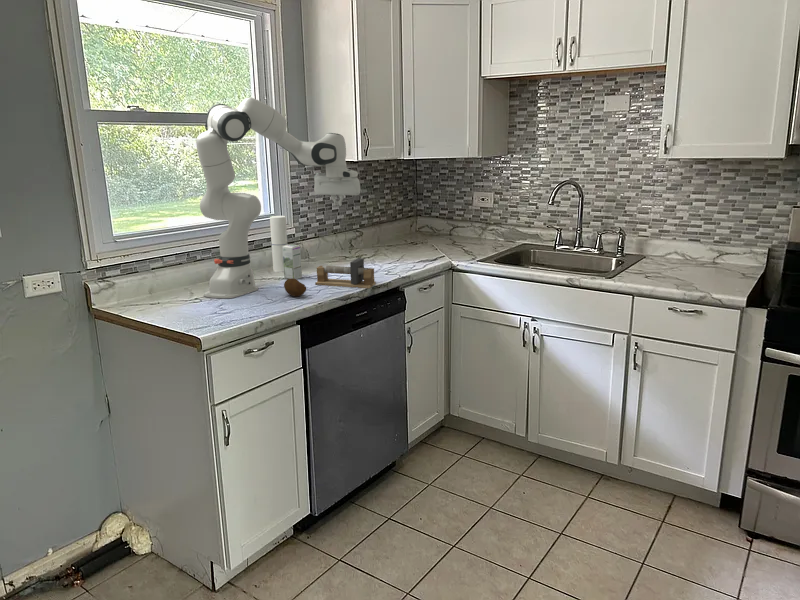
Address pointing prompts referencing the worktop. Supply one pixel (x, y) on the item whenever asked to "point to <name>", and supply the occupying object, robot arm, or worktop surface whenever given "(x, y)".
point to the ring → (356, 270)
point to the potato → (294, 287)
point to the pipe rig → (323, 280)
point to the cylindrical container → (278, 241)
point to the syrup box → (292, 261)
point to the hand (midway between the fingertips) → (337, 205)
